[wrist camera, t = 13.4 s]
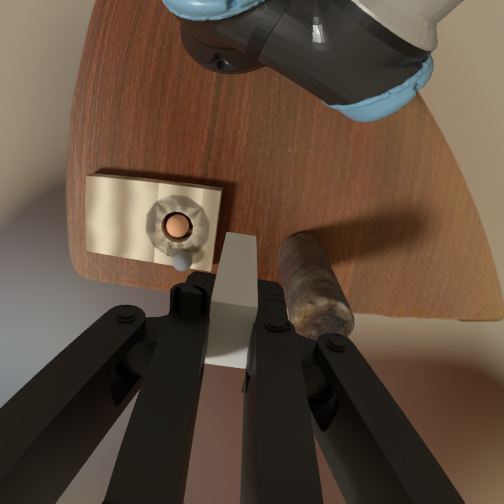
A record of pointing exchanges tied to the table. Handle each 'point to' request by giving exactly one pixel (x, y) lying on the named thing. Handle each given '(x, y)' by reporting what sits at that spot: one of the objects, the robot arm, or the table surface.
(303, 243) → the candle
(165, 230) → the board
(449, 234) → the table surface
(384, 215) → the table surface
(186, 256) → the grey ball
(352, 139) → the table surface
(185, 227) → the orange ball
